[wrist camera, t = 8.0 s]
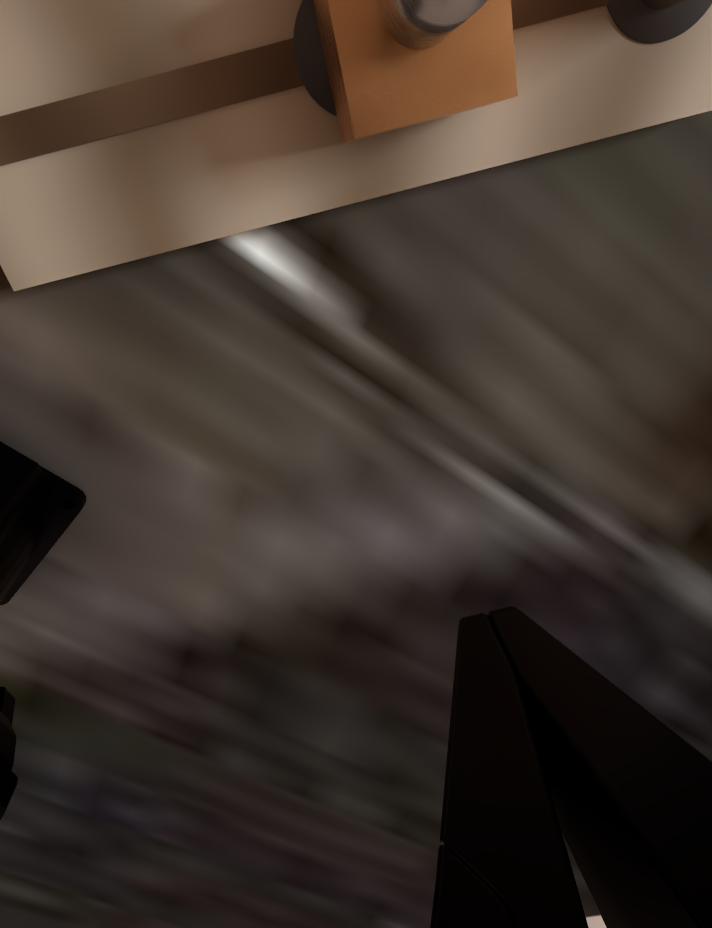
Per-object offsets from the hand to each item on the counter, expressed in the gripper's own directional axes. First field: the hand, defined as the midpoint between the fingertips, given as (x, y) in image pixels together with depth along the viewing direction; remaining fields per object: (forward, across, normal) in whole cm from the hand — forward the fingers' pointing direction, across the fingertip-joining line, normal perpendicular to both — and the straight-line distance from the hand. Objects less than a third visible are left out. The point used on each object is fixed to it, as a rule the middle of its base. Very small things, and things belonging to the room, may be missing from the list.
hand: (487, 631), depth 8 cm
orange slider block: (+11, -2, -9) cm, 14 cm away
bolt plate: (+13, -1, -9) cm, 16 cm away
